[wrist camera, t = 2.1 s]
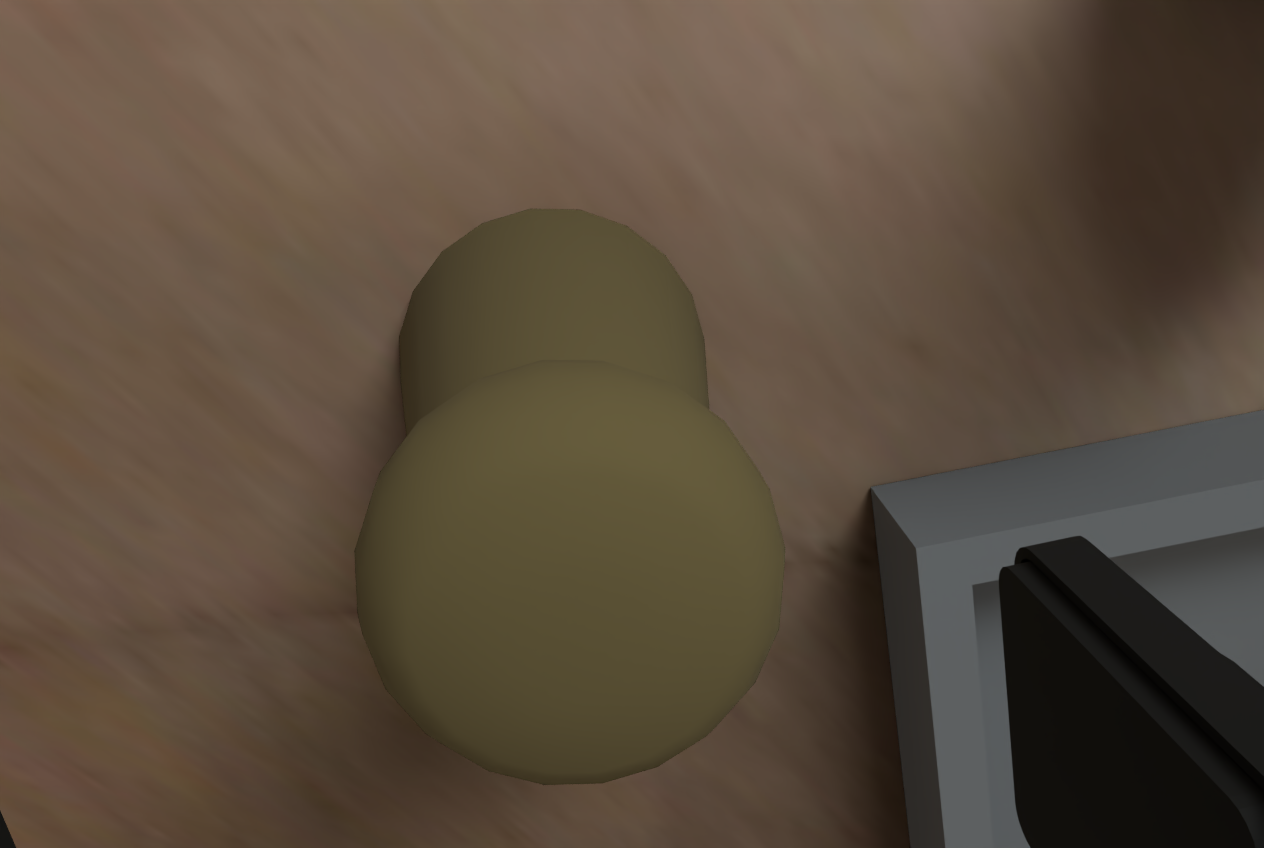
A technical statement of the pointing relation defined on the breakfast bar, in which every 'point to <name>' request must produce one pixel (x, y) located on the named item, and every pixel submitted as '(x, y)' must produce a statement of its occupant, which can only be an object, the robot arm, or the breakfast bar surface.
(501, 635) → the cork
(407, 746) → the breakfast bar surface
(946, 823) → the tray
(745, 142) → the breakfast bar surface
